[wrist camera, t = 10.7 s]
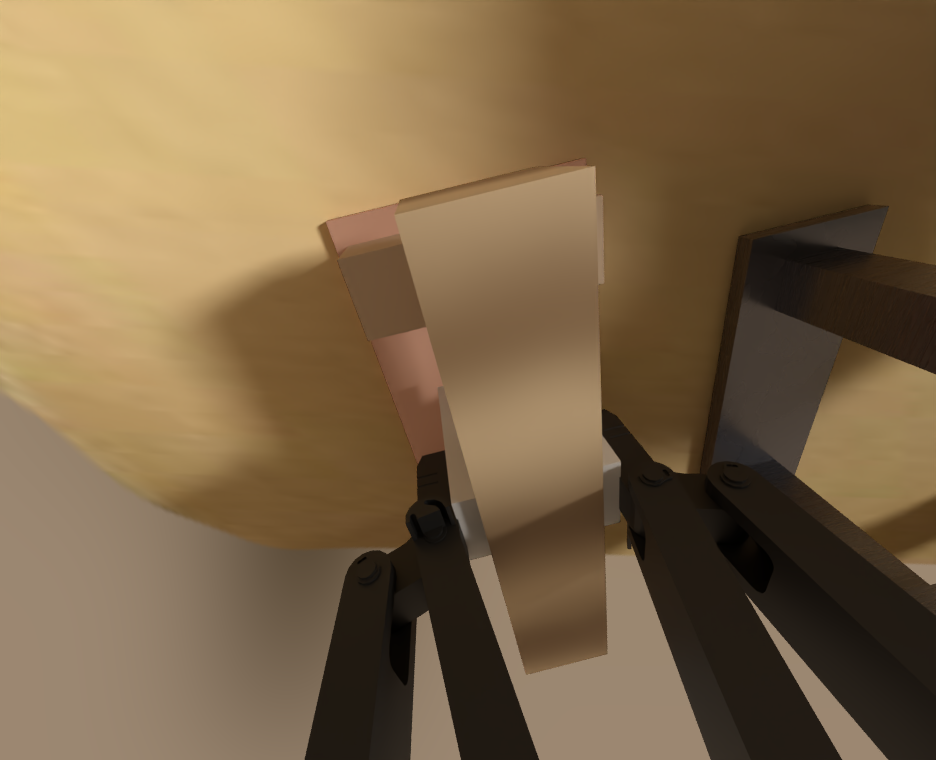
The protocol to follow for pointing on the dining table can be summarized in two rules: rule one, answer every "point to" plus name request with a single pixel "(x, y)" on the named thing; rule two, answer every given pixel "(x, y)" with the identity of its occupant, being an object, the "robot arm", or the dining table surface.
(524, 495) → the rail
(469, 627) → the robot arm
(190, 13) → the dining table surface
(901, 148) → the dining table surface
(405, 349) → the rest
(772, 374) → the rack
